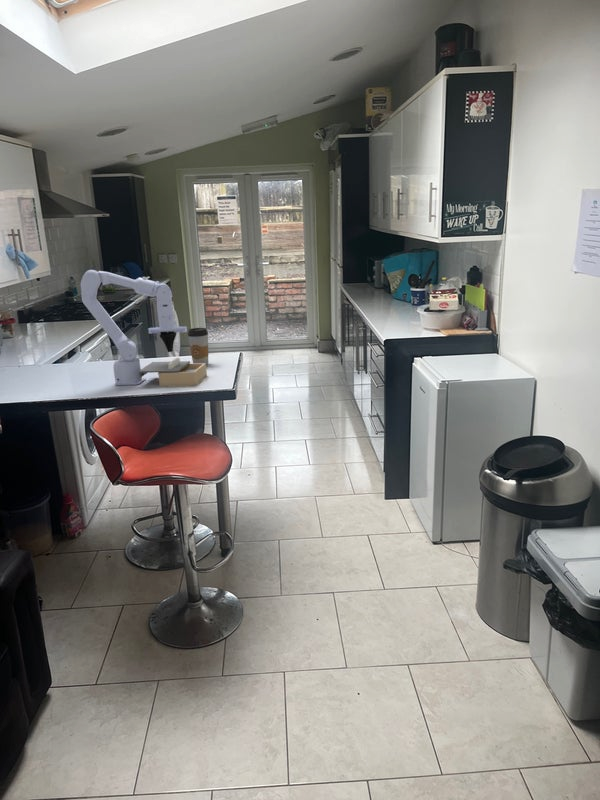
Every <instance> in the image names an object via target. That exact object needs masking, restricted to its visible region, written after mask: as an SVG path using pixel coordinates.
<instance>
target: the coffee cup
mask: <svg viewBox="0 0 600 800" xmlns="http://www.w3.org/2000/svg"><path fill="white" fill-rule="evenodd" d="M208 336H209V333H208V330H207V328H206V327H194V328H193V327H192V328H189V329H188V331H187V337H188V342H189V349H190V354H191V359H192V364H195V363H206V366H207V365H209V339H208Z"/></svg>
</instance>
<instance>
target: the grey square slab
mask: <svg viewBox="0 0 600 800" xmlns="http://www.w3.org/2000/svg"><path fill="white" fill-rule="evenodd" d="M188 364H191V361H190V360H184V361H181V360H180V357H176V358H174V359H173V360H172V361H152V362H151V363H149V364H147V365H146V366H144V367H142V368H141V370H139V371H138V373H139V378H141V377H142V378H143V377H144V376H145V375H147V374H148V373H149V374H150V373H159V372H179V371H180V370H181V369H183V368H184V367H185V366H187V365H188Z"/></svg>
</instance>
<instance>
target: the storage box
mask: <svg viewBox="0 0 600 800" xmlns="http://www.w3.org/2000/svg"><path fill="white" fill-rule="evenodd" d="M207 373H208V372H207V365H206V363H195V364H193V363H189V364H188V365H187V366H185V367H184V368H183V369H181V370H180V371H179V372H157V374H158V383H159V387H178V386H179V387H180V386H182V387H183V386H184V387H187V386H191V387H192V386H198V384H200V383H201V382H202V381H203V380H204V379H205V378H207V376H208V374H207Z"/></svg>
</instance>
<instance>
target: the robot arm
mask: <svg viewBox="0 0 600 800" xmlns="http://www.w3.org/2000/svg"><path fill="white" fill-rule="evenodd" d="M101 283H102V286H105V285H109V284H113V285H117V286H122V287H126V288H131V289H133V290H134V292H135V293H136V294H140V295H143V296H147V297H152V298H154V297H156V303H157V304H156V307H157V308H156V309H157V317H158V325H159V326H156V327H149V328H147V331H148V334H159V337H160V338H161V340H162V342H163V343H164V345H165V349H166V350H167V351H166V352H168V353H171V352H173V350H174V343H175V339H176V337H177V333H188V329H187V328H188V327H187V326H177V325H175V324H176V323H175V315H174V305H173V303H172V298H171V297H172V296H173V295H172V293H173V292H172V290H171V288H170V287H169V285H168V284H166V283H164V282H160V281H158V280H156V281H154V280H150V279H147V277H146V276H142V277H137V278H136V279H133V278H130V277H126V276H123V275H119V274H116V273H112V272H109V271H103V270H98V271H97V270H95V269H88V270H87V271H85V273H84V274H83V275H82V277H81V281H80V291H81V292H80V293H81V302H82V303H83V305H84V306H85V307H86V308H87V310H88V311H89V313H90V314H91V315H92V317H93V318H94V319H95V320H96V321H97V322H98V324H99V325H100V326H101V327H102V329H103V330H104V332H106V334H107V336H108V337H109V338H110V339H111V340H112V341H113V345H115V347H116V349H118V352H119V356H120V358H119V359H116V360H114V363H113V374H114V382H115V383H114V386H121V385H122V386H126V385H129V386H132V385H133V386H136V385H140V384H141V383H143V382H144V381H146V380H147V378H146V377H143V376H142V377H141V378H139V373H138V371H139V370H141V369H142V368H141V362H140V356H138V349H137V344H136V343H135V342H134V341H132V340H131V339H129V338H128V337H127V336H126V334H125V333H123V331H122V330H121V329H120V328H119V326H118V325H117V324H116V322H115V321H114V319H113V318H112V317H111V316H110V314H109V313H108V311H107V310H106V309H105V308H104V307H103V305H102V304H101V303H100V301H99V300H98V298H97V295H98V289H99V288H100V285H101Z"/></svg>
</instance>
